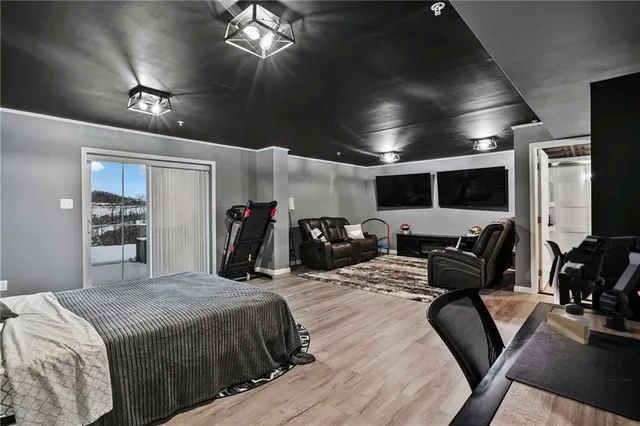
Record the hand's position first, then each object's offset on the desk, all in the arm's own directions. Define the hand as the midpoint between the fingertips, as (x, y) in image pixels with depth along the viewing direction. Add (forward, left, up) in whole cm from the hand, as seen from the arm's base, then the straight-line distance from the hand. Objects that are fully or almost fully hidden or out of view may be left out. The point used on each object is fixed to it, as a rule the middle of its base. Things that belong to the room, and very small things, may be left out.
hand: (583, 299), depth 136 cm
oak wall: (+14, +5, -12) cm, 19 cm away
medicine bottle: (+9, +4, -13) cm, 16 cm away
